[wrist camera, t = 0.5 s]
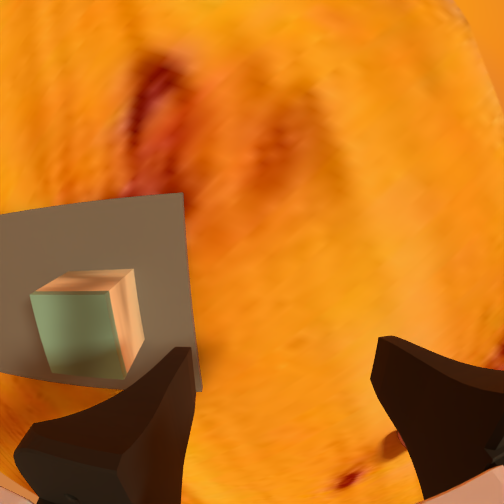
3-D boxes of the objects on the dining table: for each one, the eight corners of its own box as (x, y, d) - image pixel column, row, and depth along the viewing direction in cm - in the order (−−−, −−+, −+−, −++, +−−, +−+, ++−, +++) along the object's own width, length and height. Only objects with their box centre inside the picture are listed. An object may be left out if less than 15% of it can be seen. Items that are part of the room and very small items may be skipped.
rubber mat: (-10, 366, 20) (-13, 368, 20) (-44, 223, 17) (-49, 224, 17) (202, 386, 21) (201, 391, 21) (183, 192, 19) (181, 192, 18)
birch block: (82, 337, 19) (52, 372, 15) (68, 271, 18) (29, 294, 14) (144, 339, 20) (124, 379, 15) (133, 268, 19) (104, 294, 14)
